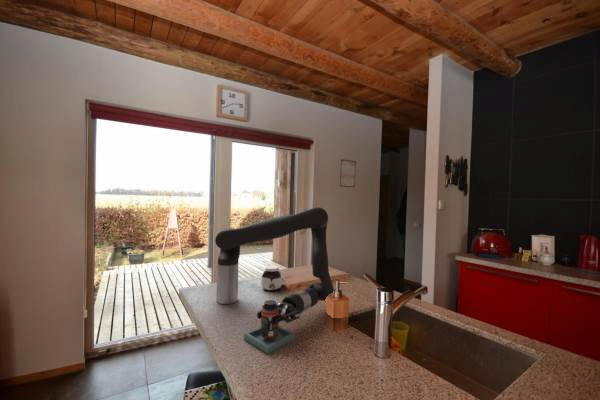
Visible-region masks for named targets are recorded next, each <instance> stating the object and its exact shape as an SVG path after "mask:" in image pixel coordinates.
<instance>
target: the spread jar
mask: <svg viewBox="0 0 600 400" xmlns="http://www.w3.org/2000/svg"><path fill="white" fill-rule="evenodd" d="M281 282H284V283H285V282H287V279H286V277H285V276H284V275H283V274H282V273H281V272H280V270H279V266H278V265H267V266H265V269H264V272H263V273H262V275H261V287H262V289H263V290H264V291H265V292H277V291H278V290H279V289H280V288H281Z"/></svg>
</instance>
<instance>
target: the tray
mask: <svg viewBox="0 0 600 400" xmlns="http://www.w3.org/2000/svg"><path fill="white" fill-rule="evenodd" d="M243 334H244V337H243V339H244V341H245V342H247V343H248V344H249V345H251V346H252V347H254V348H256V349H258V350H260V351H261V352H263V353H264V354H266V355H267V356H268V355H269V354H271V353H273V352H276V351H278V350H279V349H280V348H283V347H284V346H287V345H288V344H290V343H292V342H295V341H296V340H295V339H296V334H295V333H294V332H292V331H290V330H288V329H286V328H284V327H282V326H280V325H279V332H278V336H277V337H275V338H273V339H266V338H263V337H262V336H261V326H259V327H257V328H254V329H252V330H250V331H248V332H245V333H243Z"/></svg>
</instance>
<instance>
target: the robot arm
mask: <svg viewBox="0 0 600 400" xmlns="http://www.w3.org/2000/svg"><path fill="white" fill-rule="evenodd" d="M328 222H329V215H328V212H327V211H326V209H324V208H322V207H318V206H316V207H315V206H314V207H313V208H310V209H306V210H304V211H300V212H298V213H294V214H287V215H283V216H276V217H273V218H272V217H271V218H268V219H263V220H261V221H258V222H254V223H252V224H250V225H247V226H245V227H239V228H232V227H228V228H225V229H222V230H220V231H219V232H218V233H217V234H216V236H215V238H214V239H215V240H214V242H215V245H216V247H218V248H219V249H220V252H219V255H218V257H217V279H216V297H215V299H216V301H217V303H218V304H220V305H231V304H234V303H236V302H237V301H238V298H239V297H238V296H239V259H240V256H241V255H240V254H241V246H243V245H246V244H251V243H259V242H265V241H270V240H274V239H279V238H283V237H286V236H288V235H290V234H292V233H294V232H297V231H302V230H306V229H307V230H309V229H310V231H311V240H312V241H311V242H312V249H311V263H312V264H311V269H312V277H315V278H317V279H319V280H320V282H315V283H312V284H310V285H308V287H307V288H305V289H303V290H299V291H297V292H294V293H291V294H290V295H287V296H285V297H284V298H283V299H282V300H281V302H278V303H277V302H276V307H277V308H278V309H279V314H278V315H276V316H274V317H272V318H271V324H272V325H274V324H277V323H278V322H279V323H280V322H285V323H288V324H289V323H291V322H293V321H296V320H298V319H301V318H300V315H301V314H302V313H304V312H306V311H307V310H308V309H311V308H312V307H314V306H316V305H317V304H318V302H319V301H320V302H321V301H324V302H326V301H325V299H326V297H327V296H328V295H329V294H331V293H333V291H334V292H335V289H334V285H333V281H332V278H331V276H330V271H329V256H328V249H327V248H328V247H327V229H328V228H327V227H328ZM263 307H265V306H264V304H263V305H262V308H263ZM261 311H262V309H261V310H260V311H259V310H258V311H257V314H256V317H257V319H259V320H261Z"/></svg>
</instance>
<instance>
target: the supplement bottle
mask: <svg viewBox="0 0 600 400" xmlns="http://www.w3.org/2000/svg"><path fill="white" fill-rule="evenodd" d="M276 304H277V301H276V300H274V299H267V300H265V301H264V304H263V305H264V306H265V307H263V306H262V308H261V310H262V311H261V310H260V311H261V318H260V320H261V321H260V327H261V336H262V337H263V338H266V339H273V338H275V337H277V336H278V332H279V326H280V324H279V323H280V322H278V323H277V324H274V325H272V324H271V318H272V317H274V316H276V315H278V314H279V309H278V308H277V307H276Z"/></svg>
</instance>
